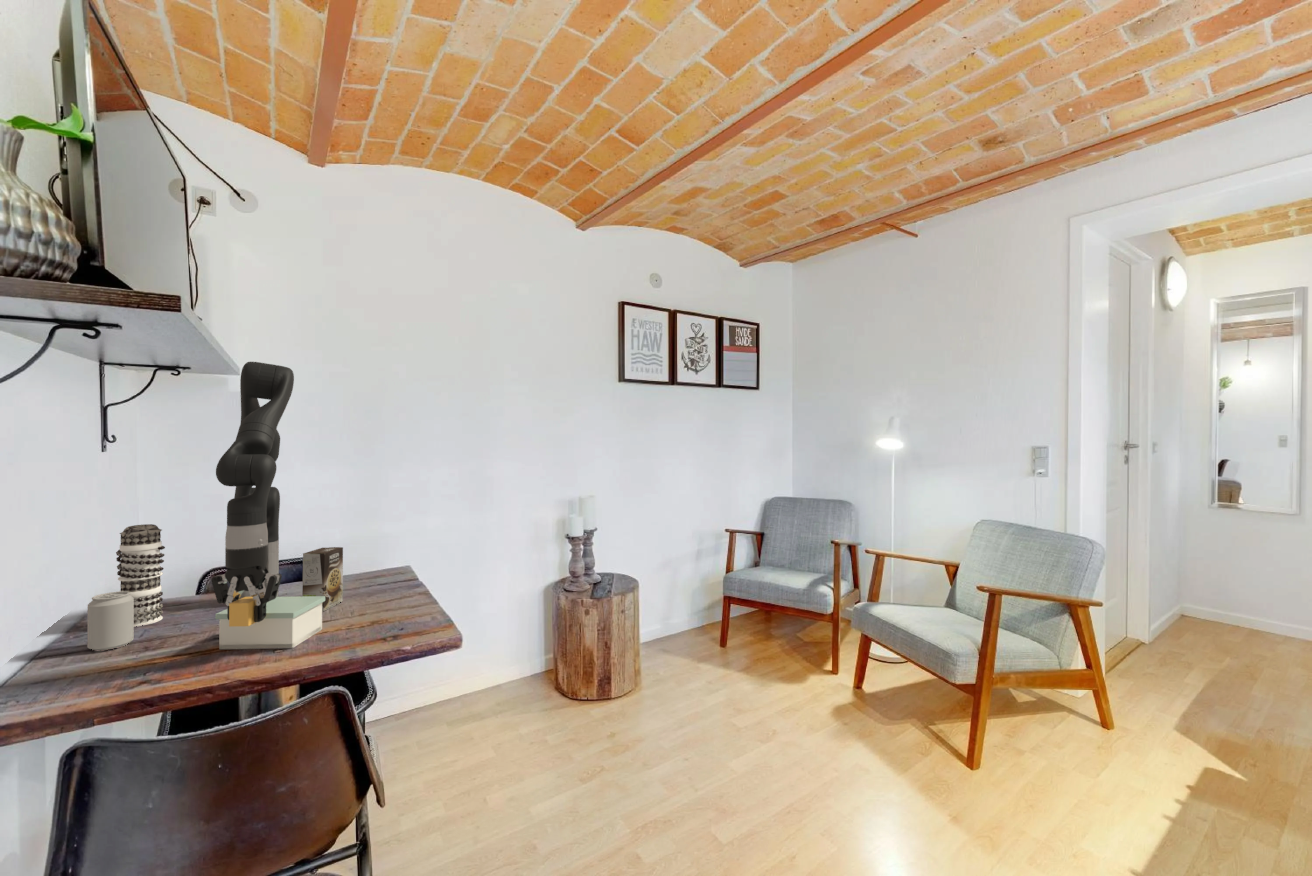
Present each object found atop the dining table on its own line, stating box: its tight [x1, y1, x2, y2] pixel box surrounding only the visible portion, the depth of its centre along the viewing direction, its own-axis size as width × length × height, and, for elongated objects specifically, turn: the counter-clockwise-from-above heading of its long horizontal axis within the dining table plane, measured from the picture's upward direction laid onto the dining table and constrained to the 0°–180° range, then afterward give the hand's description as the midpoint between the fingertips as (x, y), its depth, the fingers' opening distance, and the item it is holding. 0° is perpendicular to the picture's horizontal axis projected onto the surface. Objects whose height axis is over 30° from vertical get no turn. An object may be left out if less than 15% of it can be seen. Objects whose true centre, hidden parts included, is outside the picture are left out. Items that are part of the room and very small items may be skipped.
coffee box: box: [302, 546, 344, 612], centre depth 154 cm, size 9×6×16 cm
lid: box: [214, 596, 325, 627], centre depth 127 cm, size 17×18×6 cm
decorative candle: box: [115, 523, 166, 628], centre depth 141 cm, size 9×9×25 cm
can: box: [86, 590, 135, 651], centre depth 124 cm, size 8×8×12 cm
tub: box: [218, 603, 323, 650], centre depth 129 cm, size 16×12×7 cm
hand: (246, 621), depth 120 cm, fingers open, 4 cm apart
